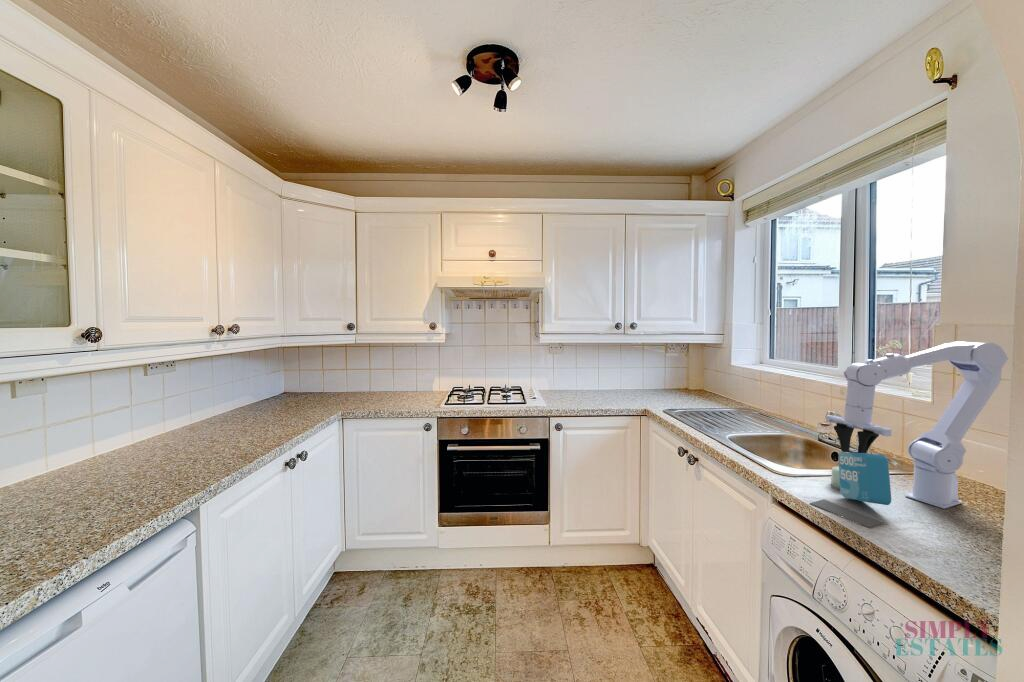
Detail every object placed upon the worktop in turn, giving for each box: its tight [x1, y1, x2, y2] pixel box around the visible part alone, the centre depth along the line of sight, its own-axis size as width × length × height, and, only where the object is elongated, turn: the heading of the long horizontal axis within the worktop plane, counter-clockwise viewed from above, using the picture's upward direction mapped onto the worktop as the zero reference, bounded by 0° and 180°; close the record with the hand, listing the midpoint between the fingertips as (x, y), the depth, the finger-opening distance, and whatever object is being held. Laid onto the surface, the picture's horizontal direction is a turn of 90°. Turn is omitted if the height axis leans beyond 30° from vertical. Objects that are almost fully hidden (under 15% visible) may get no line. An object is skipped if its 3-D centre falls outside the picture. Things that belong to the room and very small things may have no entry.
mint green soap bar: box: [830, 466, 840, 490], centre depth 114 cm, size 6×6×5 cm
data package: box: [837, 451, 892, 506], centre depth 103 cm, size 12×4×12 cm, turn 170°
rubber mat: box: [809, 498, 885, 529], centre depth 98 cm, size 6×13×1 cm, turn 22°
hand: (853, 453), depth 109 cm, fingers open, 3 cm apart
